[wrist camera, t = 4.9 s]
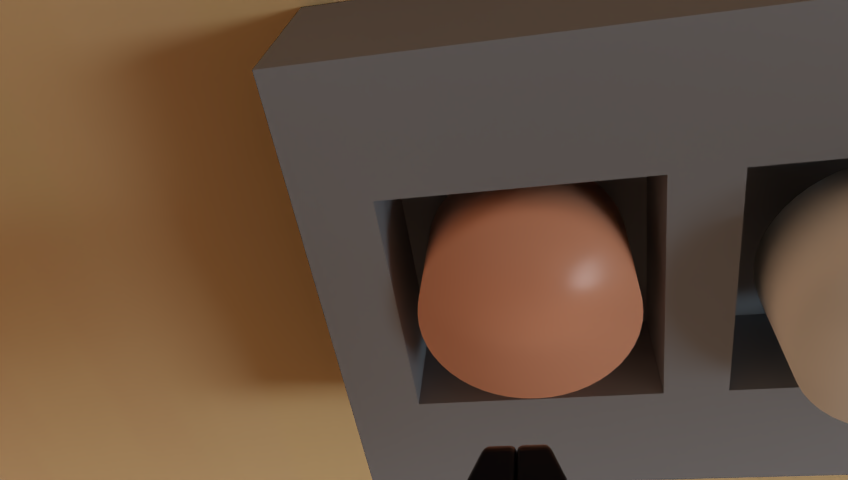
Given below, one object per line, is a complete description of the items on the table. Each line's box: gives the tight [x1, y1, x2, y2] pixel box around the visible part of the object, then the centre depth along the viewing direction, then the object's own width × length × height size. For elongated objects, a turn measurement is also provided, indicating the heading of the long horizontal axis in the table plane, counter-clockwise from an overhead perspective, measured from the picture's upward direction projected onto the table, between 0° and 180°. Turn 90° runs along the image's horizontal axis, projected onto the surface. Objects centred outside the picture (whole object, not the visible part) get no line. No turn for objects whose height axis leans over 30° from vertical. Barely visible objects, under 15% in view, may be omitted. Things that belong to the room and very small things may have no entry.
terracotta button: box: [418, 181, 643, 398], centre depth 13 cm, size 4×4×2 cm
